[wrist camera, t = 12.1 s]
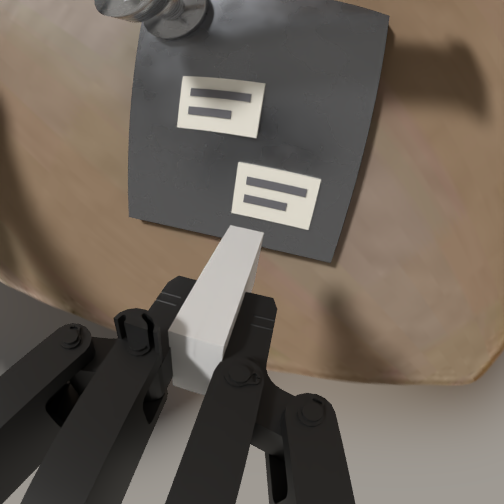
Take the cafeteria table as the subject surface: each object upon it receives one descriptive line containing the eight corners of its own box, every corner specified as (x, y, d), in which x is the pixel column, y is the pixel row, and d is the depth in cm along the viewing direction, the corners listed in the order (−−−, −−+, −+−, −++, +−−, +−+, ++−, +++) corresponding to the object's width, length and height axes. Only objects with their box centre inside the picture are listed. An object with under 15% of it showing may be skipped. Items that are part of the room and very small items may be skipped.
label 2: (232, 211, 23) (231, 213, 22) (239, 161, 21) (237, 162, 20) (308, 228, 22) (308, 230, 22) (320, 179, 20) (321, 180, 20)
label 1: (178, 126, 20) (176, 127, 20) (184, 76, 18) (182, 75, 18) (256, 137, 19) (255, 138, 19) (265, 83, 17) (265, 83, 17)
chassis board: (135, 211, 26) (101, 238, 21) (155, -7, 15) (118, -25, 11) (330, 255, 24) (332, 295, 19) (386, 14, 14) (407, -9, 9)
